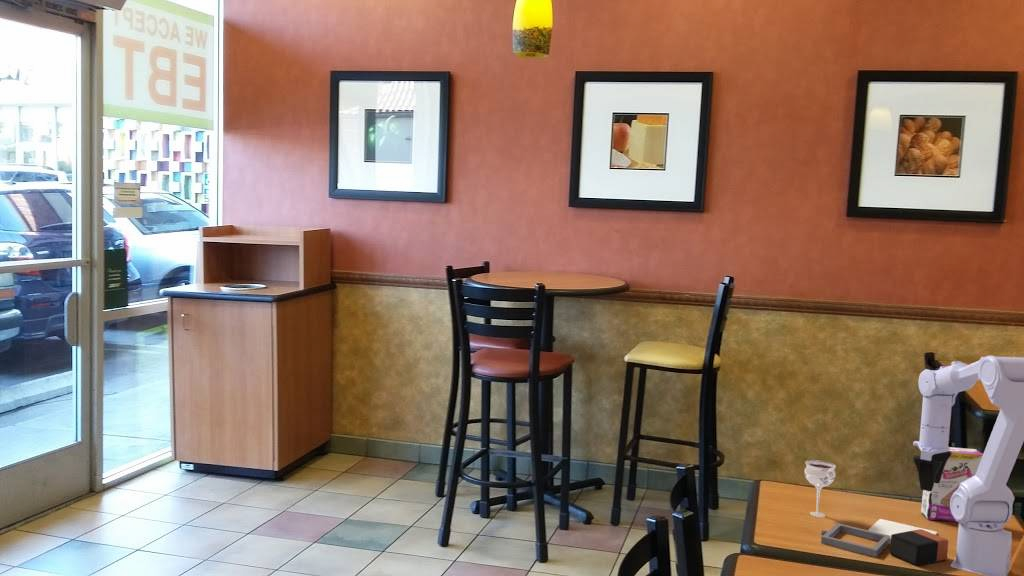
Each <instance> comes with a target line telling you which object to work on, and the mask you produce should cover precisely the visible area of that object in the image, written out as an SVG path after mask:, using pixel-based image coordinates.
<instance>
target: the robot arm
mask: <svg viewBox="0 0 1024 576" xmlns="http://www.w3.org/2000/svg"><path fill="white" fill-rule="evenodd" d="M980 381H981V384H982V385H983V388H984V390H985V392H986V394H987V396H988V399H989V401H990V403H991V404H992V405H993V406H995V407H997V408H998V409H999V412H998V416H997V418H996V421H995V423H994V425H993V428H992V431H991V433H990V436H989V438H988V441H987V443H986V446H985V448H984V451H983V453H982V454H983V456H982V459H981V461H980V464H979V467H978V469H977V472H976V474H975V476H973V477H971V478H969V479H967V480H965V481H963V482H962V483H960V485H959V488H958V489H957V491H955V492H954V493H953V495H952V497H951V500H950V509H951V513H952V515H953V517H954V518H955V520H956V521H957V523H958V529H957V530H958V531H957V539H956V540H957V541H956V551H955V552H956V553H955V558H954V559H953V561H952V562H951V564H950V565H949V566H950V567H951V568H954V569H958V570H961V571H966V572H970V573H973V574H978V575H981V576H1007V575H1008V574H1009V571H1010V569H1011V563H1012V561H1011V553H1012V543H1013V542H1012V541H1013V533H1012V532H1011V531H1009V530H1006V529H1004V528H1005V524H1008V523H1009V522H1010V520H1011V519H1012V516H1013V504H1014V501H1015V495H1014V493H1013V492H1012V490H1011V489H1010V487H1008V486H1007V483H1008V481H1009V478H1010V475H1011V472H1012V471H1013V468H1014V466H1015V464H1016V460H1017V458H1018V456H1019V455H1020V454H1019V453H1020V451H1021V450H1022V449H1021V448H1022V446H1023V444H1024V357H1022V356H1020V357H1017V356H995V355H986V356H981V357H980V359H979V360H977V361H975V362H972V363H970V364H968V363H965V362H962V361H961V360H954V361H952V362H951V363H950V365H948V366H946V365H942V366H940V367H939V369H937V370H934V369H933V370H931V369H928V368H925V369H924V370H923V371H921V373H920V374H919V377H918V381H917V382H918V390H919V392H920V394H921V395H922V405H921V406H922V407H921V418H920V430H919V440H914V441H913V443H912V445H913V446H914V447H918V449H919V450H920V455H917V454H915V455H913V456H912V457H913V458H912V460H913V463H914V465H915V466H916V470H917V474H918V481H919V487H920V490H921V491H923V490H926V491H932V489H933V486H934V483H938V484H939V482H940V480H941V477H942V473H943V470H944V467H945V464H946V462H947V460H948V458H949V457H950V456H951V454H952V452H951V451H949V447H950V446H949V441H950V432H951V431H950V429H951V428H950V427H951V419H952V417H951V416H952V407H953V406H954V405H955V404H956V398H957V395H958V394H959V393H961V392H964V391H969V390H970V389H972V388H973V387H974V386H975V385H976V383H977V382H980Z"/></svg>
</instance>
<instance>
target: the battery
mask: <svg viewBox="0 0 1024 576" xmlns="http://www.w3.org/2000/svg"><path fill="white" fill-rule="evenodd" d="M889 544H890V545H889V554H890V555H891V556H893V557H896V558H898V559H900V560H903V561H904V562H907V563H909V564H912V565H914V566H922V565H927V564H932V563H935V562H937V563H938V562H940V561H941V562H942V561H946V560H947V559H948V551H949V540H948V539H947V538H945V537H942V536H940V535H937V534H936V535H935V534H932V533H930V532H927V531H925V530H922V529H918V530H913V531H908V532H902V533H897V534H892V535H891V540H890V543H889Z"/></svg>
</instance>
